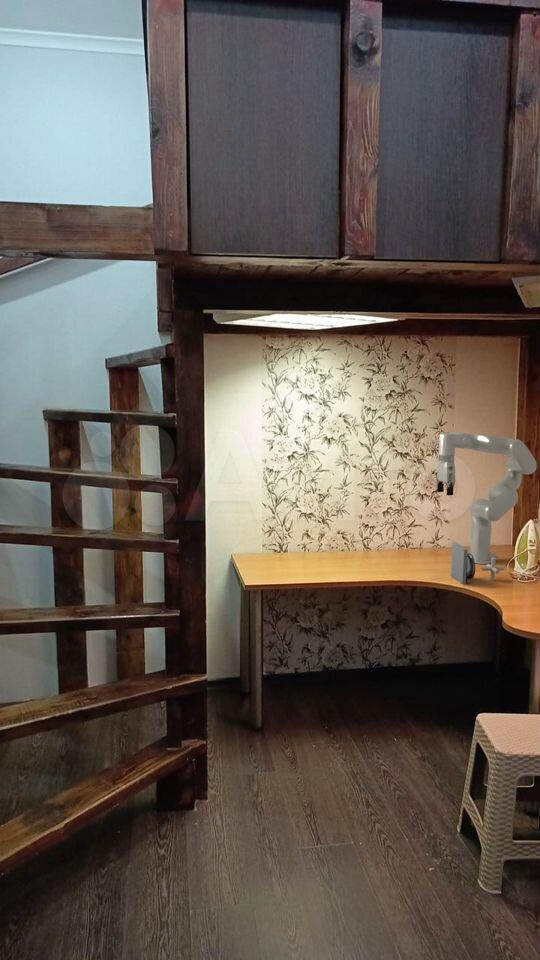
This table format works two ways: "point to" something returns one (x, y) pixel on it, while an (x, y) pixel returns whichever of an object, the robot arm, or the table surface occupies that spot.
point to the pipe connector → (492, 568)
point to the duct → (470, 566)
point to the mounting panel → (459, 563)
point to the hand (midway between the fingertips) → (444, 493)
